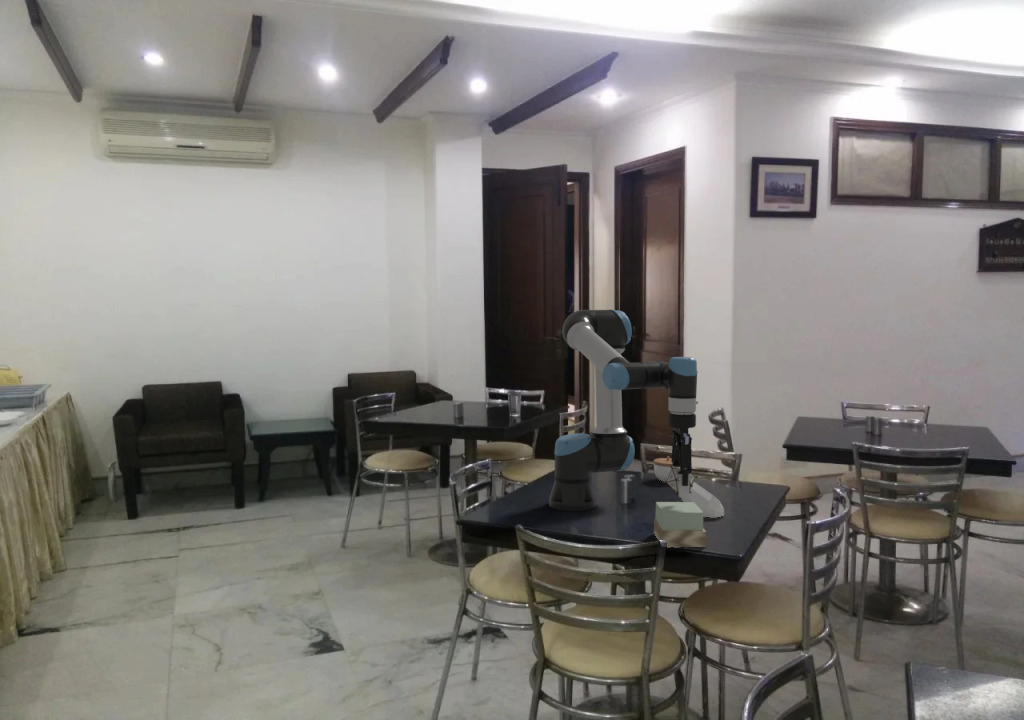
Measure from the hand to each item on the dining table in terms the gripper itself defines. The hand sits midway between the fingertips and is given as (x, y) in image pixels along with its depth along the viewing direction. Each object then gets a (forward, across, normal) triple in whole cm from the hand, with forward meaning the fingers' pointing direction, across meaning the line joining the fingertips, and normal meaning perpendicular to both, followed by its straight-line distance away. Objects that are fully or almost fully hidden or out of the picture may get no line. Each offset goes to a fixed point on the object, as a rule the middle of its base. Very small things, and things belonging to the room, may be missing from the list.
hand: (680, 493), depth 211 cm
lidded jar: (+14, +73, -10) cm, 75 cm away
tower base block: (+14, 0, 0) cm, 14 cm away
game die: (0, 0, 0) cm, 0 cm away
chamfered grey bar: (+14, +34, -14) cm, 39 cm away
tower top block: (+9, 0, 0) cm, 9 cm away
